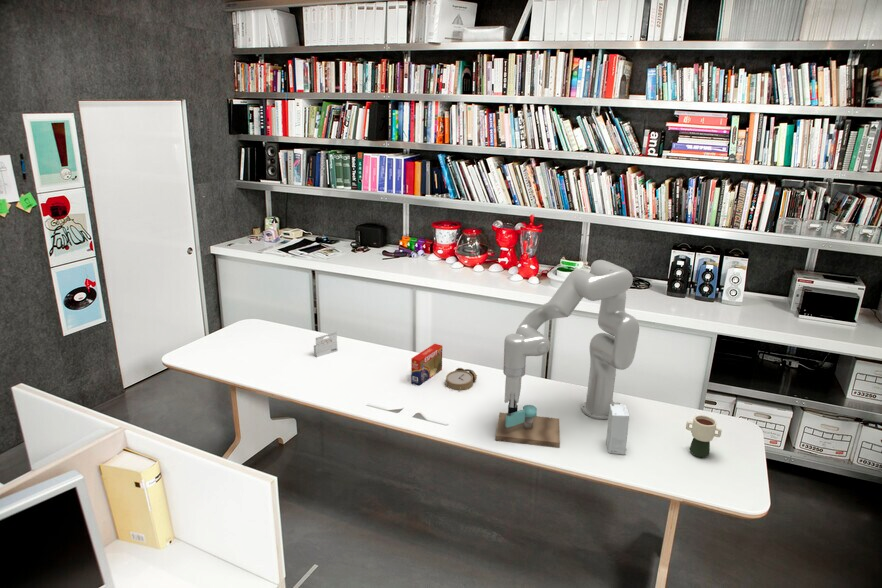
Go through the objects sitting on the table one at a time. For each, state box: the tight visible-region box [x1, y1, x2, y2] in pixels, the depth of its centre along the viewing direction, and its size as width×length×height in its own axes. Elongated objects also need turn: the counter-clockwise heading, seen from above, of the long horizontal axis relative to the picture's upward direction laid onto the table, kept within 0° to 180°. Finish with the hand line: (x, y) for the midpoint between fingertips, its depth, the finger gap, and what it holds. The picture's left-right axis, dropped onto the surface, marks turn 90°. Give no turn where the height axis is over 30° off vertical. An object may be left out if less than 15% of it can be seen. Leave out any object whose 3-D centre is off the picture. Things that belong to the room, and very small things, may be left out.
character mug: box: [685, 414, 723, 458], centre depth 200 cm, size 11×7×13 cm, turn 64°
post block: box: [495, 412, 561, 448], centre depth 212 cm, size 22×16×7 cm
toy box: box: [410, 343, 443, 387], centre depth 250 cm, size 18×4×12 cm, turn 149°
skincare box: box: [605, 404, 630, 456], centre depth 202 cm, size 8×6×15 cm
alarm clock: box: [444, 367, 478, 392], centre depth 247 cm, size 11×5×15 cm
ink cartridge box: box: [313, 331, 339, 358], centre depth 271 cm, size 2×11×10 cm, turn 130°
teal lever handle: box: [505, 404, 538, 428], centre depth 209 cm, size 12×5×5 cm, turn 121°
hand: (512, 415), depth 210 cm, fingers closed
